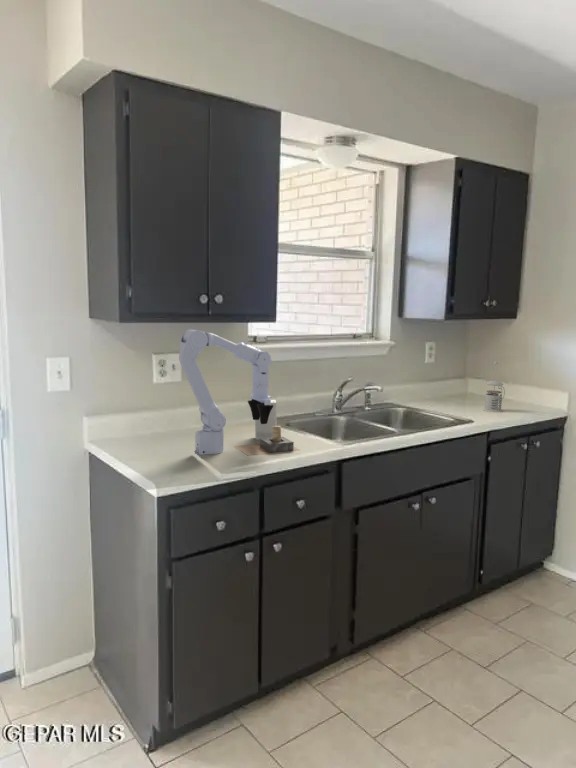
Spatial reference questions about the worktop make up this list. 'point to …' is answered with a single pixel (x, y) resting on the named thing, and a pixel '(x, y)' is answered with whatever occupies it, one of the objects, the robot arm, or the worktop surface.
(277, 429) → the birch peg
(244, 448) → the socket board
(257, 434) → the skincare box
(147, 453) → the worktop surface
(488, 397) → the french press
